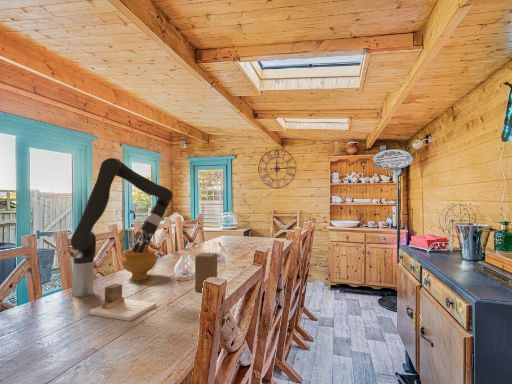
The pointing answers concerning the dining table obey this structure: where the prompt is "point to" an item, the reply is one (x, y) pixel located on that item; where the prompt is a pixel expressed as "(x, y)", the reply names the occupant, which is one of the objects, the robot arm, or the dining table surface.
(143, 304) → the board
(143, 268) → the mustard brown vase
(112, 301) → the block
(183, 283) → the dining table surface
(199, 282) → the wooden block
